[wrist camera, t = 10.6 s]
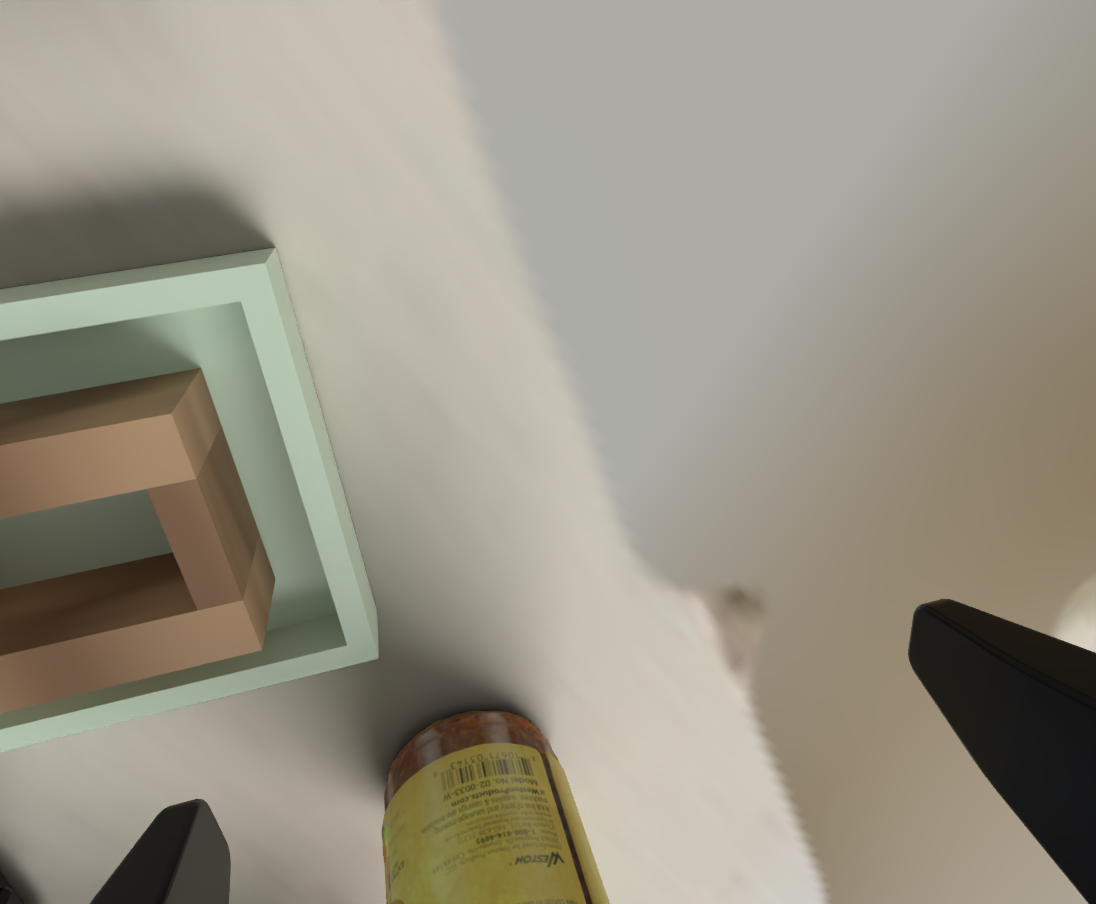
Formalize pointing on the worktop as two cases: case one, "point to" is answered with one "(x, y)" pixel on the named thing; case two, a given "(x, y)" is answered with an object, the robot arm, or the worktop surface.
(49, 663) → the collar
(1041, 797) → the robot arm
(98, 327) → the tray
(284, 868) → the worktop surface
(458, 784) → the sauce bottle
